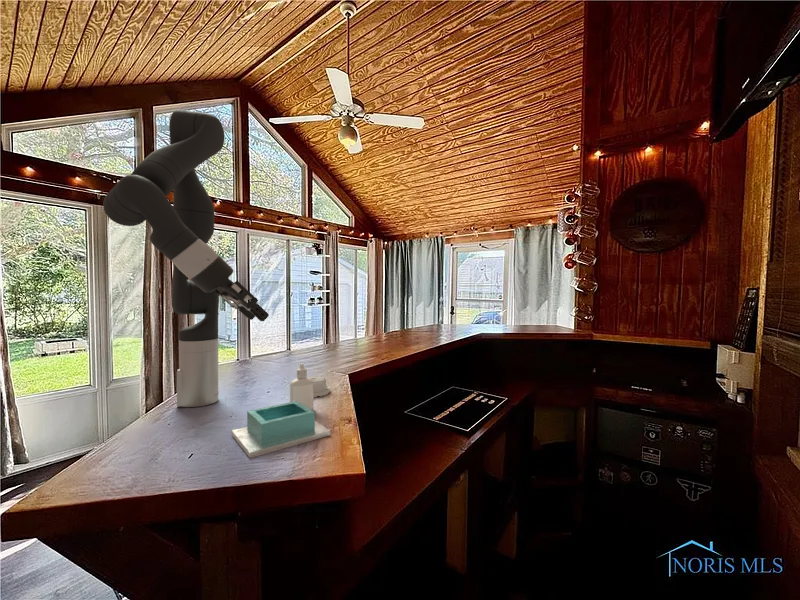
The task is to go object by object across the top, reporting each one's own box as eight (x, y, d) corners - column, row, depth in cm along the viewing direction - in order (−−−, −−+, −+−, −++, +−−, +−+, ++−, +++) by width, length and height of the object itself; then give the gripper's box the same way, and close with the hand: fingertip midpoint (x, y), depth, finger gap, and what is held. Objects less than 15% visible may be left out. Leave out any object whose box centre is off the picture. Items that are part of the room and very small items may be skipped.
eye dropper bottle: (311, 413, 85) (311, 365, 84) (288, 414, 84) (288, 365, 84) (314, 408, 89) (314, 362, 89) (292, 408, 89) (292, 362, 88)
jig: (249, 458, 62) (249, 430, 62) (231, 435, 72) (231, 411, 72) (330, 435, 72) (330, 411, 72) (304, 417, 82) (304, 397, 82)
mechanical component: (289, 397, 99) (321, 399, 97) (289, 382, 99) (321, 384, 97) (305, 388, 109) (335, 390, 107) (305, 374, 109) (335, 375, 107)
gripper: (225, 250, 69) (282, 306, 76) (210, 257, 80) (261, 306, 87) (194, 276, 65) (257, 332, 73) (183, 279, 76) (239, 328, 83)
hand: (259, 317), depth 80 cm, fingers open, 8 cm apart
